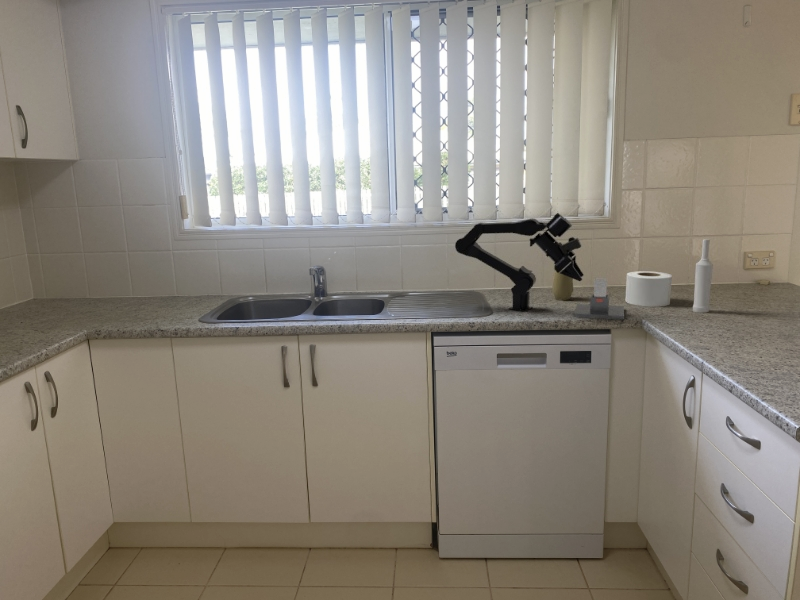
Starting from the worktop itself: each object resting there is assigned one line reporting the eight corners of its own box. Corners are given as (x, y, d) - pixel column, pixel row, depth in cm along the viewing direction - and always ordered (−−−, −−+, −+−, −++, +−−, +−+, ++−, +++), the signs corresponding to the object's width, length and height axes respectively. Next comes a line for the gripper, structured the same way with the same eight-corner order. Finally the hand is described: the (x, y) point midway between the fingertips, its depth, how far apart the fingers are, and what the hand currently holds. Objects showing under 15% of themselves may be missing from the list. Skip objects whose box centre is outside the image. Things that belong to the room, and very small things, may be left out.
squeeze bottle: (568, 301, 222) (569, 255, 219) (548, 299, 227) (549, 254, 223) (576, 298, 229) (577, 252, 225) (556, 296, 233) (557, 251, 230)
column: (593, 310, 202) (594, 280, 199) (593, 307, 205) (594, 278, 203) (605, 310, 200) (606, 280, 198) (605, 308, 204) (607, 278, 202)
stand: (573, 316, 198) (574, 299, 197) (577, 307, 213) (577, 291, 212) (623, 319, 193) (624, 301, 192) (623, 309, 208) (624, 292, 206)
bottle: (711, 313, 198) (717, 240, 193) (694, 312, 199) (700, 240, 194) (706, 309, 203) (712, 238, 198) (690, 309, 204) (695, 238, 199)
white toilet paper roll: (679, 303, 214) (681, 274, 212) (649, 308, 208) (650, 279, 205) (645, 296, 228) (647, 269, 226) (616, 301, 221) (617, 273, 219)
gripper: (565, 232, 192) (599, 266, 191) (569, 228, 210) (600, 258, 208) (540, 256, 197) (573, 289, 195) (546, 249, 214) (577, 279, 212)
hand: (582, 278), depth 203 cm, fingers open, 9 cm apart
